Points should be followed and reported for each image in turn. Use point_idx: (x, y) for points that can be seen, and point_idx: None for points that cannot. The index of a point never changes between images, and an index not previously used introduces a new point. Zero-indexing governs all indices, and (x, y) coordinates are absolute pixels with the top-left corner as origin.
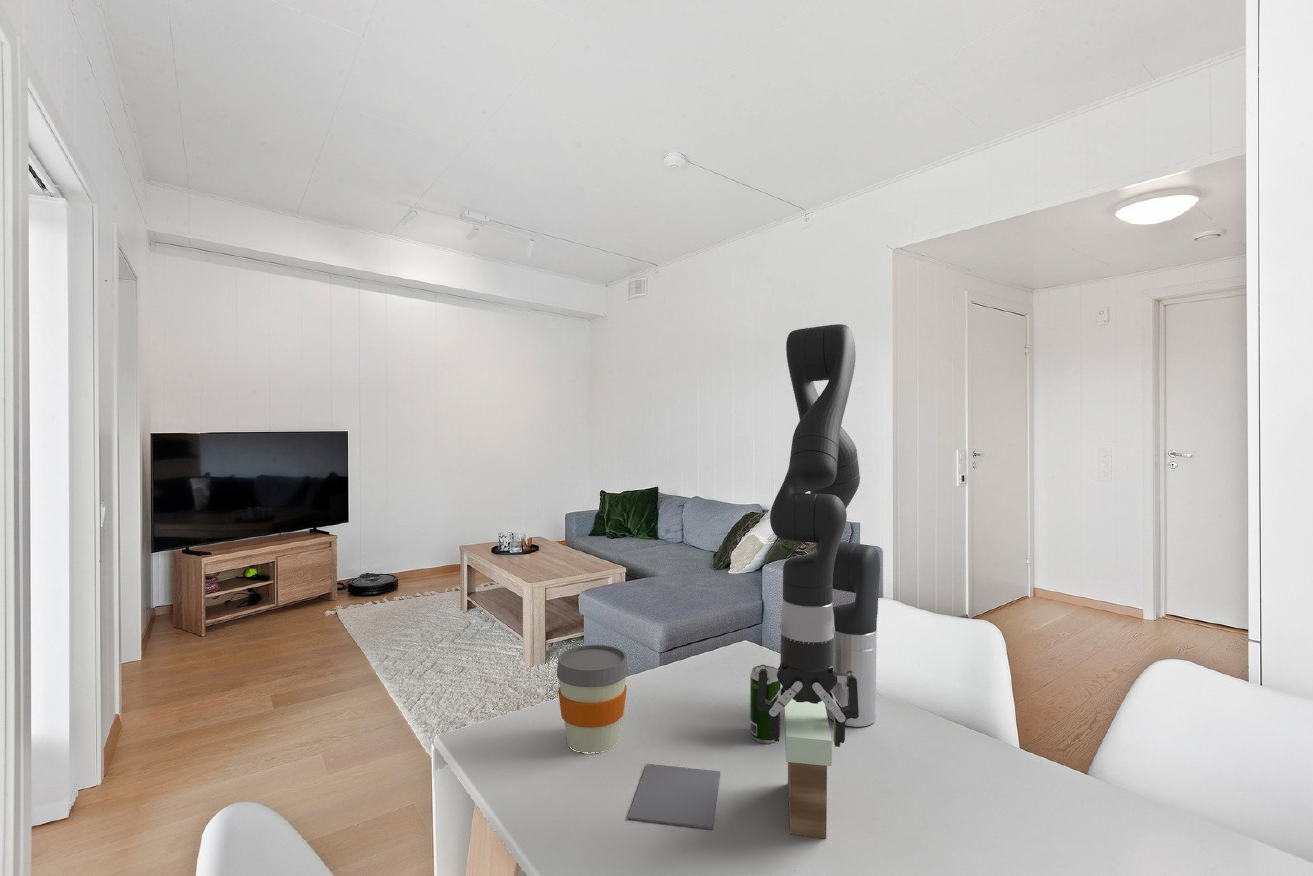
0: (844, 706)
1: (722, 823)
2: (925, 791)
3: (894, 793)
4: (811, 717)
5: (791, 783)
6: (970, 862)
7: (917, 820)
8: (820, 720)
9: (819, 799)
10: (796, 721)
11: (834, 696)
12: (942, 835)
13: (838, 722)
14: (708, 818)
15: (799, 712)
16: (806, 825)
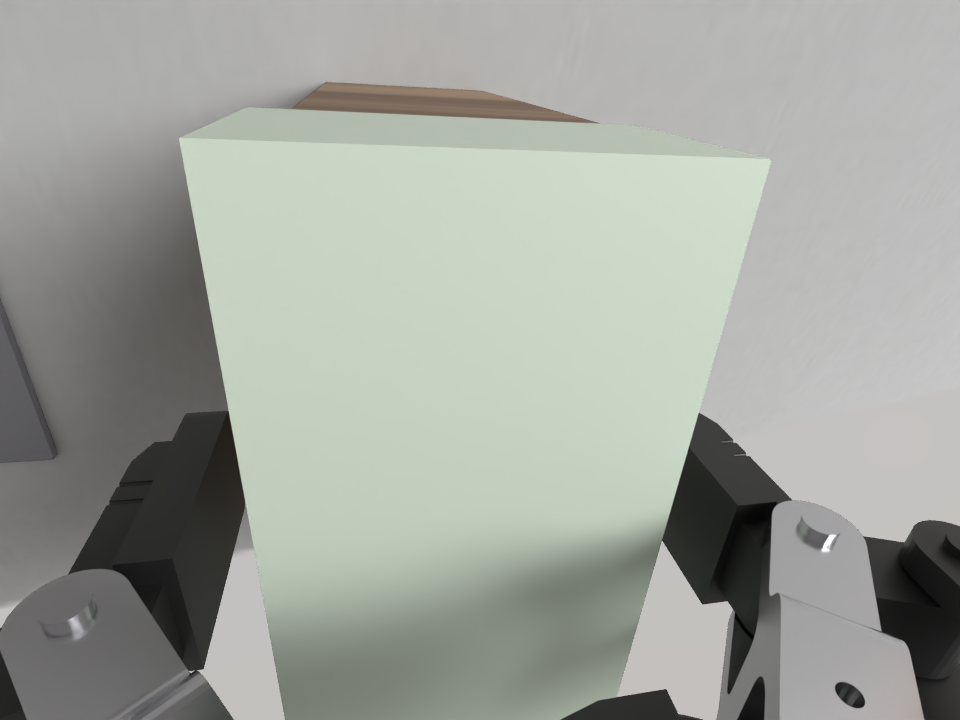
0: (894, 601)
1: (85, 414)
2: (923, 54)
3: (793, 91)
4: (522, 560)
5: None
6: (822, 409)
7: (787, 259)
8: (591, 583)
9: None
10: (377, 649)
11: (898, 644)
12: (819, 319)
13: (725, 599)
14: (15, 418)
15: (412, 501)
16: None
